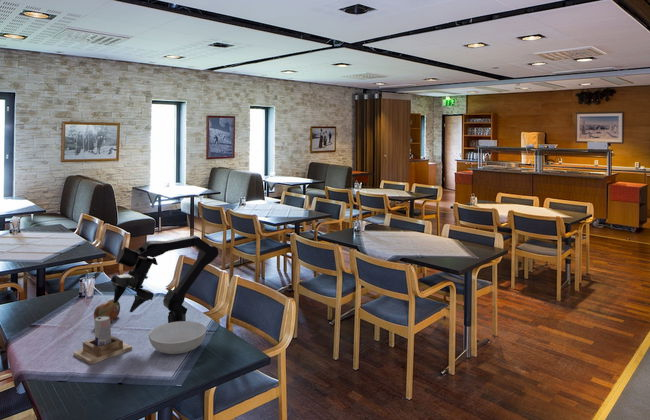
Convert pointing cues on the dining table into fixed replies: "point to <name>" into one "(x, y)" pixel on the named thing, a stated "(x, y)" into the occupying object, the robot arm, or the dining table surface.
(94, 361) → the wooden tray
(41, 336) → the dining table surface
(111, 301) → the tin
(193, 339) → the serving bowl
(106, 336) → the energy drink
